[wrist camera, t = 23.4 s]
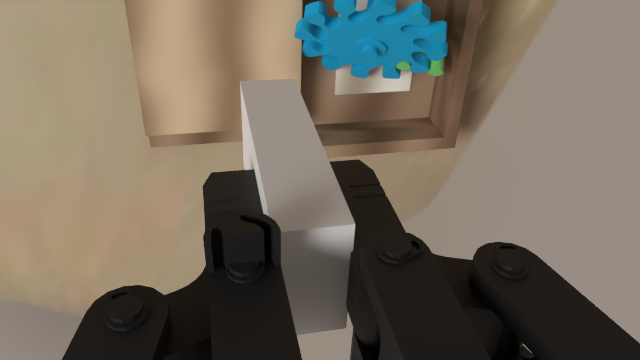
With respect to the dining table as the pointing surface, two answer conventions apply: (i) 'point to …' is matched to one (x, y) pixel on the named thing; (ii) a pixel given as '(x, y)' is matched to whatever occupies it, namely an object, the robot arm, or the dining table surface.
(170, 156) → the dining table surface
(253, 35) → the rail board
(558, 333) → the robot arm
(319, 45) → the gear
